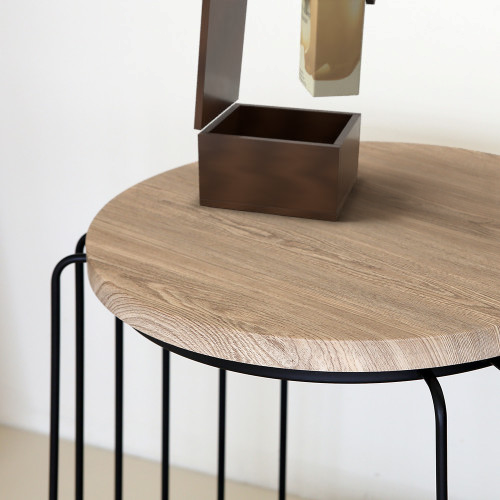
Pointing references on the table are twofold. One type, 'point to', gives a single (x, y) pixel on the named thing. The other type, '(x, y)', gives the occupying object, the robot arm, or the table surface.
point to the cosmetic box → (331, 46)
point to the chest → (279, 160)
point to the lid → (219, 58)
